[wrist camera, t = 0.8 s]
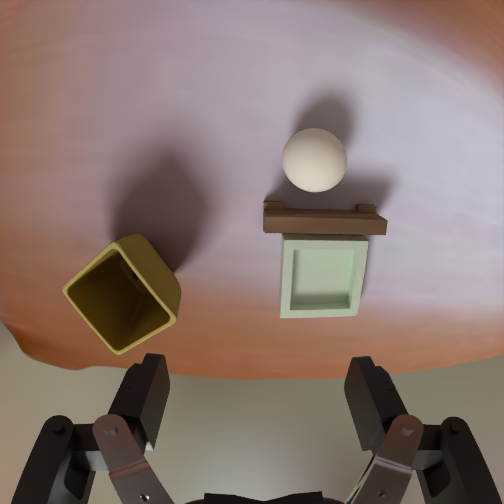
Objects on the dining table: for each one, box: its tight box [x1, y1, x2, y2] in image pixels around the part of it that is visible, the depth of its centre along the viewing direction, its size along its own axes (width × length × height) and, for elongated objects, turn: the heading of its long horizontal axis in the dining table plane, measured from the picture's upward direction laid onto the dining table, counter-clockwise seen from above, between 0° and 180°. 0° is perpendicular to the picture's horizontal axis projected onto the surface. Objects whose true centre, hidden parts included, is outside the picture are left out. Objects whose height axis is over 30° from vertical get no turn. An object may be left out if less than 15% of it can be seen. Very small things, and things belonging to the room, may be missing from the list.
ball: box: [282, 128, 347, 192], centre depth 26 cm, size 6×6×6 cm
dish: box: [279, 234, 369, 318], centre depth 32 cm, size 9×9×2 cm
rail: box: [263, 201, 388, 235], centre depth 29 cm, size 3×12×4 cm, turn 89°
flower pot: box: [62, 234, 181, 355], centre depth 29 cm, size 9×9×9 cm
